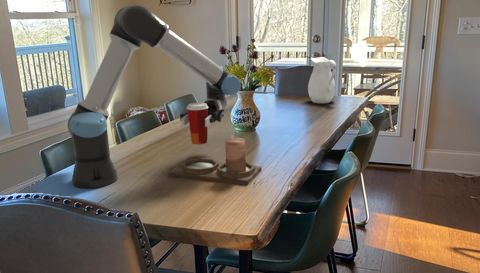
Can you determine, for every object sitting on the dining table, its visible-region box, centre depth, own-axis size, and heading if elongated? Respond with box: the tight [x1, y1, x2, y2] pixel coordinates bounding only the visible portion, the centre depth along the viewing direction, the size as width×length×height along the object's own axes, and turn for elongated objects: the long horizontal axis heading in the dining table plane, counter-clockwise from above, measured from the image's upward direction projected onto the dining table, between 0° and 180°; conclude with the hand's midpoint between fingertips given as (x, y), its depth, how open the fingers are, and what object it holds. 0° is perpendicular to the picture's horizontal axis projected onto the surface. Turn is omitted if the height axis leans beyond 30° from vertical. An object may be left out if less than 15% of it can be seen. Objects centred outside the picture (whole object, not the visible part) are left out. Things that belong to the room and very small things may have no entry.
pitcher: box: [307, 56, 338, 104], centre depth 278 cm, size 24×17×28 cm
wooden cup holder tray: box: [168, 137, 262, 186], centre depth 160 cm, size 15×30×13 cm, turn 69°
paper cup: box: [185, 101, 208, 146], centre depth 159 cm, size 8×8×14 cm
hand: (194, 122), depth 154 cm, fingers closed on paper cup, 8 cm apart
